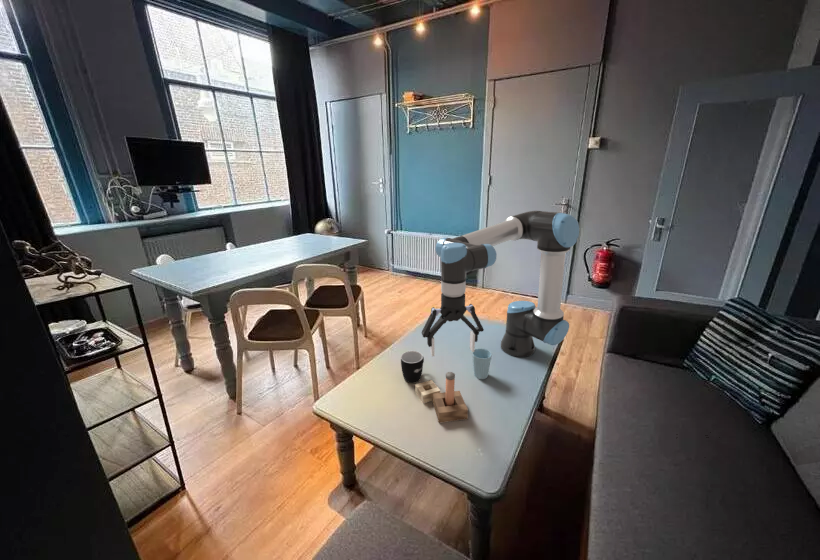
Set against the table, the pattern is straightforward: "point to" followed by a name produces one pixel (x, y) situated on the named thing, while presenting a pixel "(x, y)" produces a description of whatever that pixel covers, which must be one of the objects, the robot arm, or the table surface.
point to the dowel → (449, 389)
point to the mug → (412, 366)
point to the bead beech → (426, 391)
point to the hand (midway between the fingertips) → (452, 352)
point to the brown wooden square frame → (450, 408)
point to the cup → (481, 362)
